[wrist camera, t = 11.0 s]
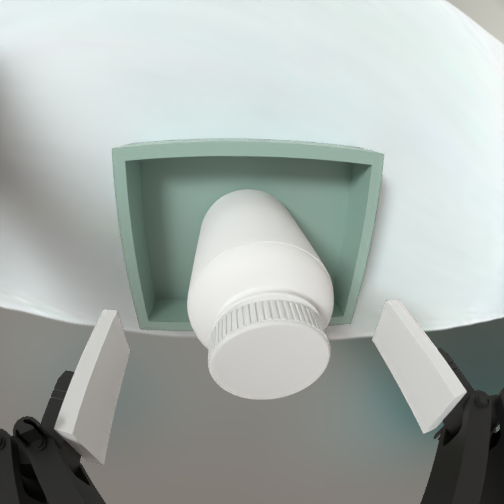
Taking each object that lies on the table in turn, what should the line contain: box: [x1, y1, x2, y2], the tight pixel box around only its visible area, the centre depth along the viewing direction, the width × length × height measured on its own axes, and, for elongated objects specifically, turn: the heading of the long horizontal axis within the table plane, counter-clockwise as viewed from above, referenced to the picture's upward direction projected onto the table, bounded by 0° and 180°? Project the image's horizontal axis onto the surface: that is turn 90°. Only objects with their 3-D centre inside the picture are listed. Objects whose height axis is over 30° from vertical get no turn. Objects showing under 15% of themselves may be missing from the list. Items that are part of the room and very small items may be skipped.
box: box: [112, 139, 384, 331], centre depth 23 cm, size 20×16×4 cm
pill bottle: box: [187, 189, 334, 400], centre depth 18 cm, size 8×8×15 cm
